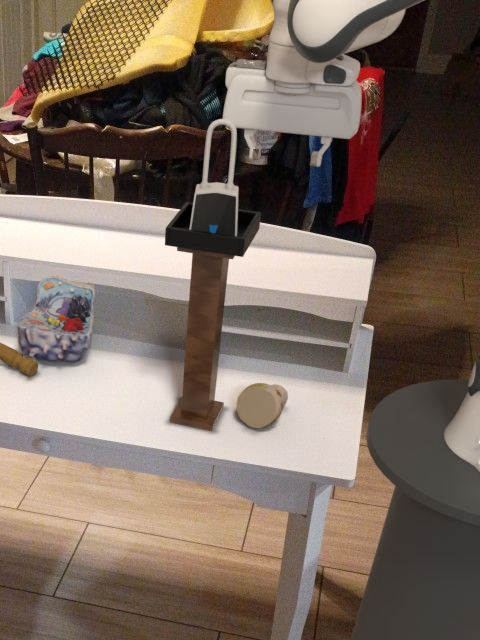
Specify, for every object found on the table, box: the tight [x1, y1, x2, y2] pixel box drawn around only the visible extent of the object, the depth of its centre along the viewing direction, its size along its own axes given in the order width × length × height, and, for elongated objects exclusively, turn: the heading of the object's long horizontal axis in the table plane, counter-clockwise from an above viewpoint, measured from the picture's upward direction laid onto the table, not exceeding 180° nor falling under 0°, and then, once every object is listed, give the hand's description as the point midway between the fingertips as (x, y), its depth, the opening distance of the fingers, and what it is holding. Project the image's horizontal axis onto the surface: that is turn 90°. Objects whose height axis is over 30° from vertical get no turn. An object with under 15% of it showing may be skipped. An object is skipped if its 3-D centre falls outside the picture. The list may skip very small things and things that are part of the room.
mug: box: [236, 382, 289, 429], centre depth 136 cm, size 8×10×10 cm
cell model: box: [16, 275, 96, 363], centre depth 152 cm, size 13×11×20 cm
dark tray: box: [164, 201, 262, 258], centre depth 118 cm, size 11×10×2 cm
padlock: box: [189, 118, 240, 236], centre depth 114 cm, size 7×4×15 cm, turn 81°
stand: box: [169, 247, 236, 432], centre depth 129 cm, size 8×8×30 cm
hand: (284, 162), depth 132 cm, fingers open, 8 cm apart
